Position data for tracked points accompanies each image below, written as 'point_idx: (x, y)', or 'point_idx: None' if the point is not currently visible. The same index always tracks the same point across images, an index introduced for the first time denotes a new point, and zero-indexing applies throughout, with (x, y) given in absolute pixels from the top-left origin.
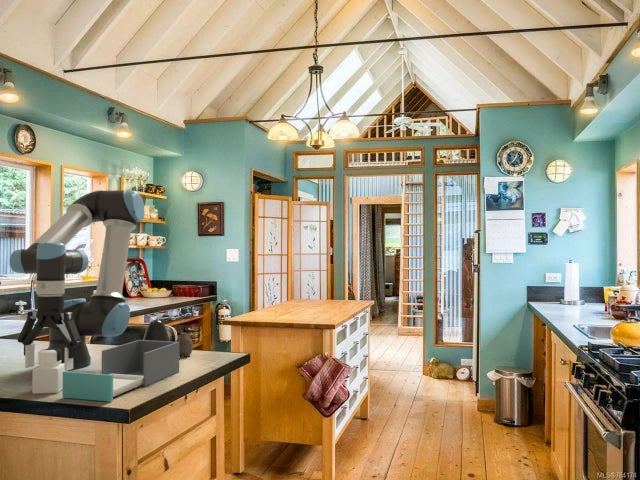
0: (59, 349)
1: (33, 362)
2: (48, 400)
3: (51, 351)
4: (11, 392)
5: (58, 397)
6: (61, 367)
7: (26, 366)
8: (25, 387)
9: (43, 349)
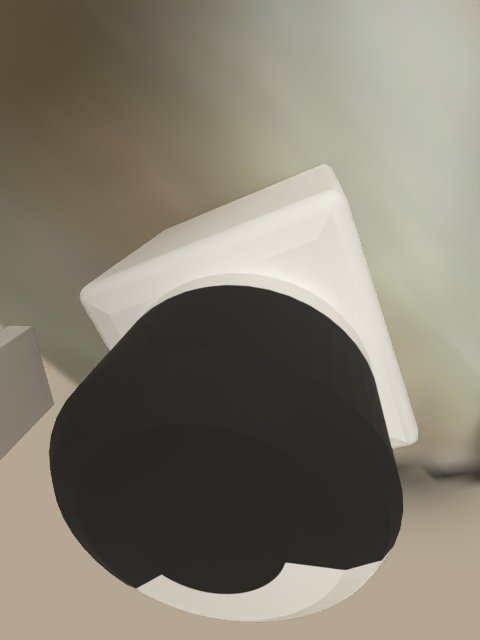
0: (314, 431)
1: (9, 354)
2: (427, 452)
3: (327, 604)
4: (93, 369)
5: (450, 397)
6: (394, 354)
7: (40, 412)
8: (59, 260)
9: (88, 532)
